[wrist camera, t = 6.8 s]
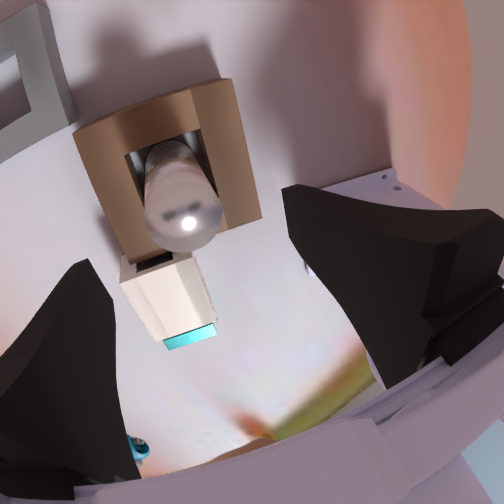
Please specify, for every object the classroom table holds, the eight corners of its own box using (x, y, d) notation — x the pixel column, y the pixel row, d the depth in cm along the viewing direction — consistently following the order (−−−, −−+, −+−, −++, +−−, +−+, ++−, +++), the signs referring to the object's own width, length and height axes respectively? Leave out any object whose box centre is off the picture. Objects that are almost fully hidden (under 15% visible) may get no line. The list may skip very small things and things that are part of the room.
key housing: (185, 232, 22) (192, 257, 19) (208, 292, 25) (218, 320, 22) (121, 255, 21) (119, 283, 18) (152, 312, 24) (156, 341, 22)
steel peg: (187, 133, 18) (211, 169, 12) (200, 178, 20) (230, 237, 13) (138, 150, 18) (133, 198, 11) (154, 195, 19) (161, 262, 13)
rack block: (49, 9, 10) (36, 1, 8) (79, 119, 15) (69, 125, 13) (-48, 73, 9) (-67, 76, 7) (-16, 172, 14) (-33, 186, 12)
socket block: (221, 78, 17) (231, 78, 15) (250, 203, 22) (262, 218, 20) (81, 126, 15) (72, 133, 13) (130, 245, 21) (130, 265, 19)
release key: (180, 238, 21) (185, 262, 19) (208, 308, 26) (216, 334, 23) (128, 257, 21) (127, 283, 18) (164, 323, 25) (168, 350, 23)
